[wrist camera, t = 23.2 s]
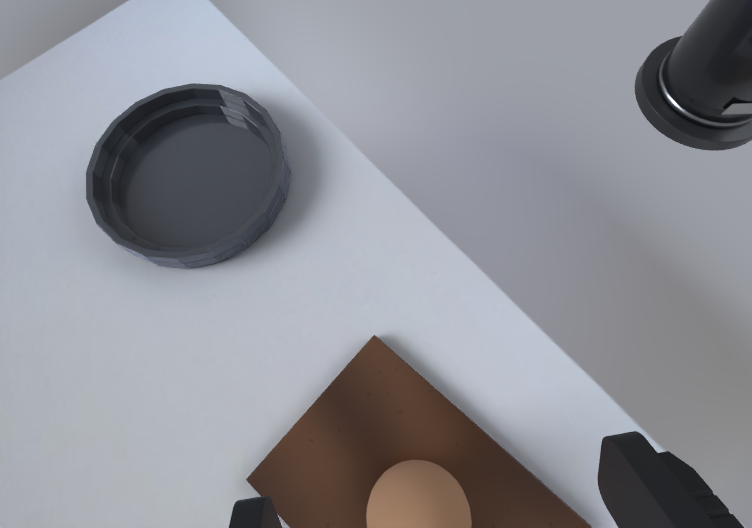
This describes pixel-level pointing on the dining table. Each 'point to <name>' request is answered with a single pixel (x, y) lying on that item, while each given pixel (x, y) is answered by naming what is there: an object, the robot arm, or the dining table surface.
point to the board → (395, 453)
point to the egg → (417, 498)
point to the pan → (188, 176)
